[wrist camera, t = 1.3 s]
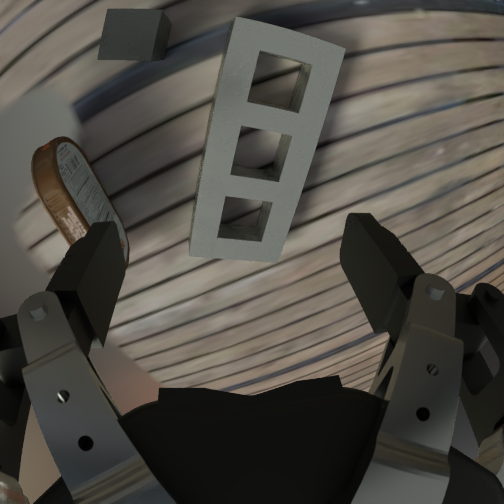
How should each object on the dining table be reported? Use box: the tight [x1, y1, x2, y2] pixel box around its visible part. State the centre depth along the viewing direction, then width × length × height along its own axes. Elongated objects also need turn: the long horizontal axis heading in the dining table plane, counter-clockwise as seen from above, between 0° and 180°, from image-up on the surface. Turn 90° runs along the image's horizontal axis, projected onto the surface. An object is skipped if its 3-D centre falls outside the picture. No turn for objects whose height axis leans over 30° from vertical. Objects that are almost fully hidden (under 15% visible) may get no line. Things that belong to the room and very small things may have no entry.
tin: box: [31, 136, 130, 269], centre depth 25 cm, size 15×3×8 cm, turn 16°
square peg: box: [98, 9, 172, 61], centre depth 17 cm, size 4×4×9 cm
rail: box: [189, 17, 346, 263], centre depth 28 cm, size 10×24×3 cm, turn 166°
